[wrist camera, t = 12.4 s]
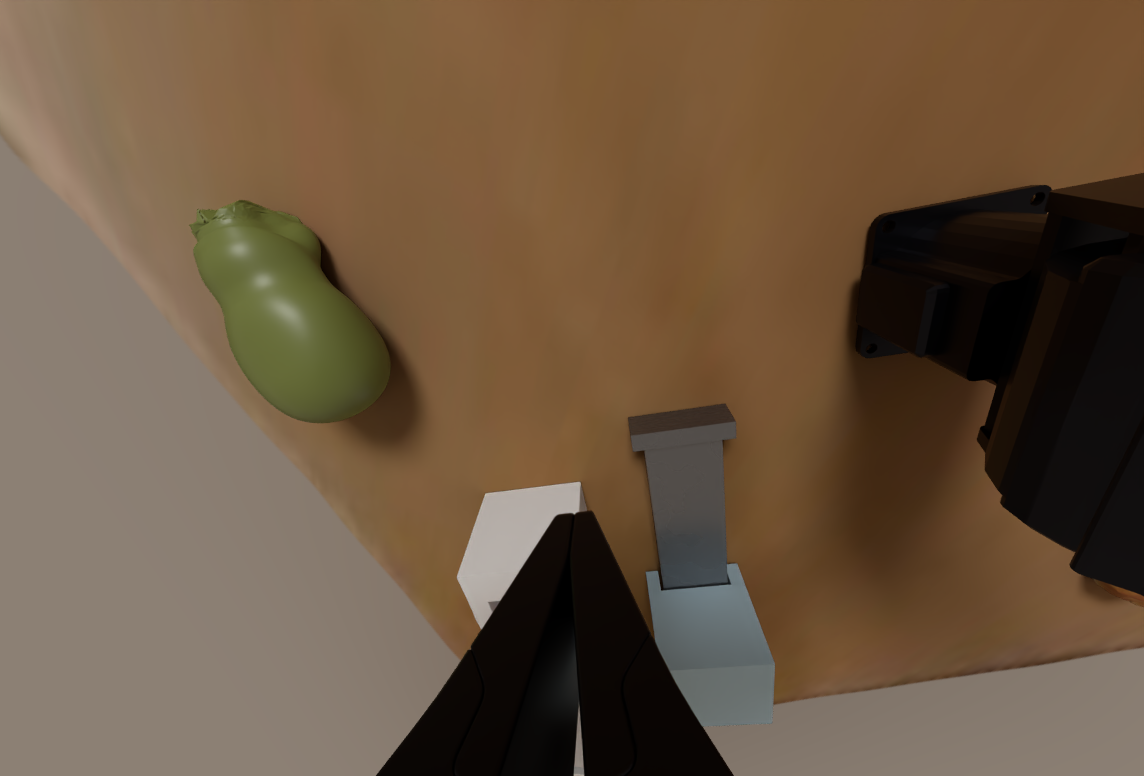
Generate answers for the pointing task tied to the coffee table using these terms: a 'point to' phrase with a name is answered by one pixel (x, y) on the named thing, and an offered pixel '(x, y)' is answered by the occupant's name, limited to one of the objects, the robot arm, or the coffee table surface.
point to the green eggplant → (288, 314)
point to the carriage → (715, 650)
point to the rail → (687, 491)
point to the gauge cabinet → (509, 539)
